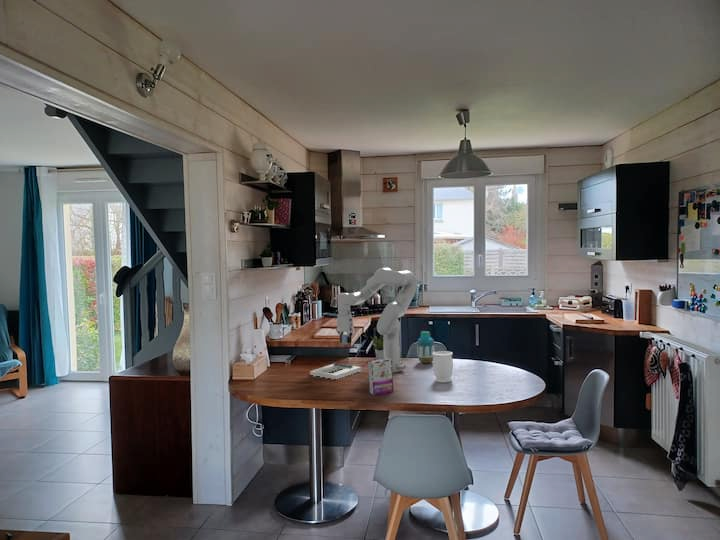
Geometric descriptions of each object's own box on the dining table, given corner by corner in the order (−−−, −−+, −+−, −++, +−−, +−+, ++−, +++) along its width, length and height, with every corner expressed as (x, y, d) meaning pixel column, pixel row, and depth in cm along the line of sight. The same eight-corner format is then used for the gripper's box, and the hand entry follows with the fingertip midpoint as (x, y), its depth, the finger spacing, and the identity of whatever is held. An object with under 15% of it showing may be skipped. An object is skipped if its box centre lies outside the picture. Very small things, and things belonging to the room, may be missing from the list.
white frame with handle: (361, 371, 291) (360, 367, 291) (336, 379, 274) (336, 375, 274) (335, 367, 304) (335, 363, 304) (310, 375, 287) (310, 371, 287)
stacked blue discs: (351, 343, 304) (351, 334, 304) (346, 344, 300) (345, 335, 300) (345, 342, 307) (345, 333, 307) (340, 344, 303) (339, 335, 303)
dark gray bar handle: (352, 367, 290) (352, 365, 290) (350, 368, 289) (350, 365, 289) (335, 365, 299) (335, 362, 299) (333, 365, 298) (333, 363, 298)
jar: (431, 382, 260) (430, 354, 259) (435, 377, 269) (434, 350, 269) (451, 383, 256) (450, 355, 256) (455, 378, 266) (454, 351, 265)
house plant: (365, 361, 317) (363, 335, 317) (370, 356, 330) (369, 332, 330) (386, 361, 313) (385, 336, 312) (391, 356, 326) (390, 332, 326)
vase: (416, 361, 310) (414, 331, 309) (432, 360, 311) (431, 330, 310) (420, 365, 299) (418, 333, 298) (437, 364, 300) (435, 332, 300)
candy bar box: (389, 389, 251) (387, 357, 250) (393, 392, 246) (392, 359, 246) (369, 393, 246) (367, 360, 246) (373, 395, 242) (371, 362, 241)
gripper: (359, 312, 301) (360, 342, 301) (337, 311, 311) (339, 340, 312) (351, 314, 295) (352, 344, 295) (329, 313, 305) (331, 342, 306)
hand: (345, 342), depth 304 cm, fingers closed on stacked blue discs, 5 cm apart
